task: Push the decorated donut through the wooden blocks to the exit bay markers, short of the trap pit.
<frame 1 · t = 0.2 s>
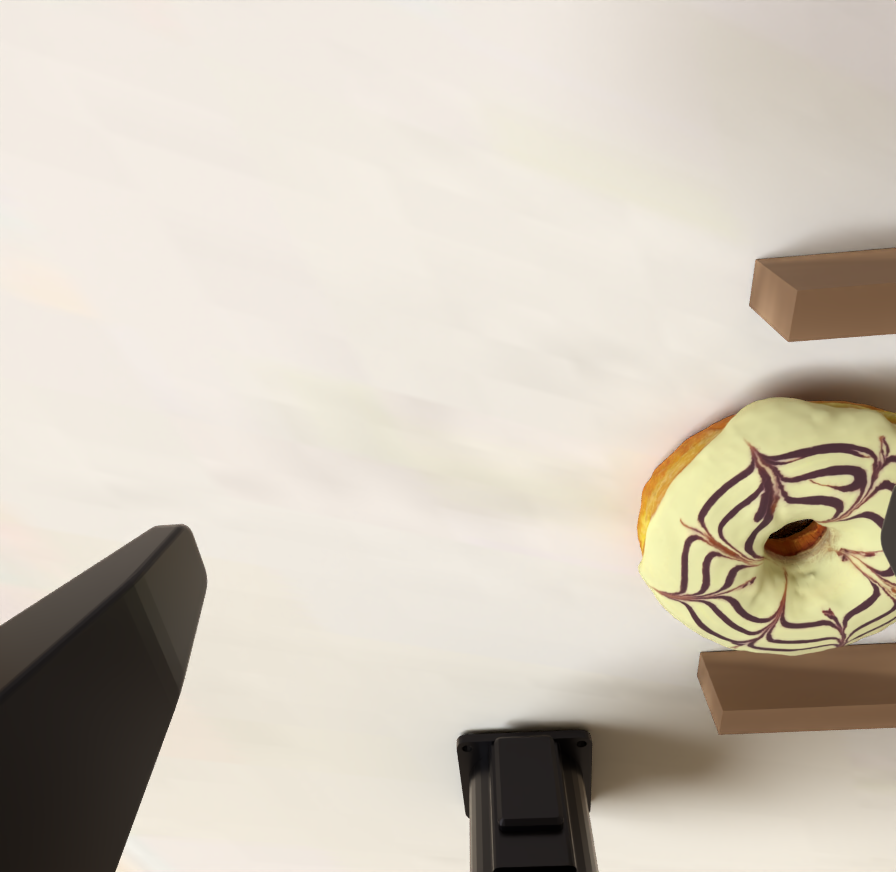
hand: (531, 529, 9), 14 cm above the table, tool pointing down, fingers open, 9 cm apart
decorated donut: (769, 496, 26), on the table
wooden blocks: (884, 496, 25), on the table
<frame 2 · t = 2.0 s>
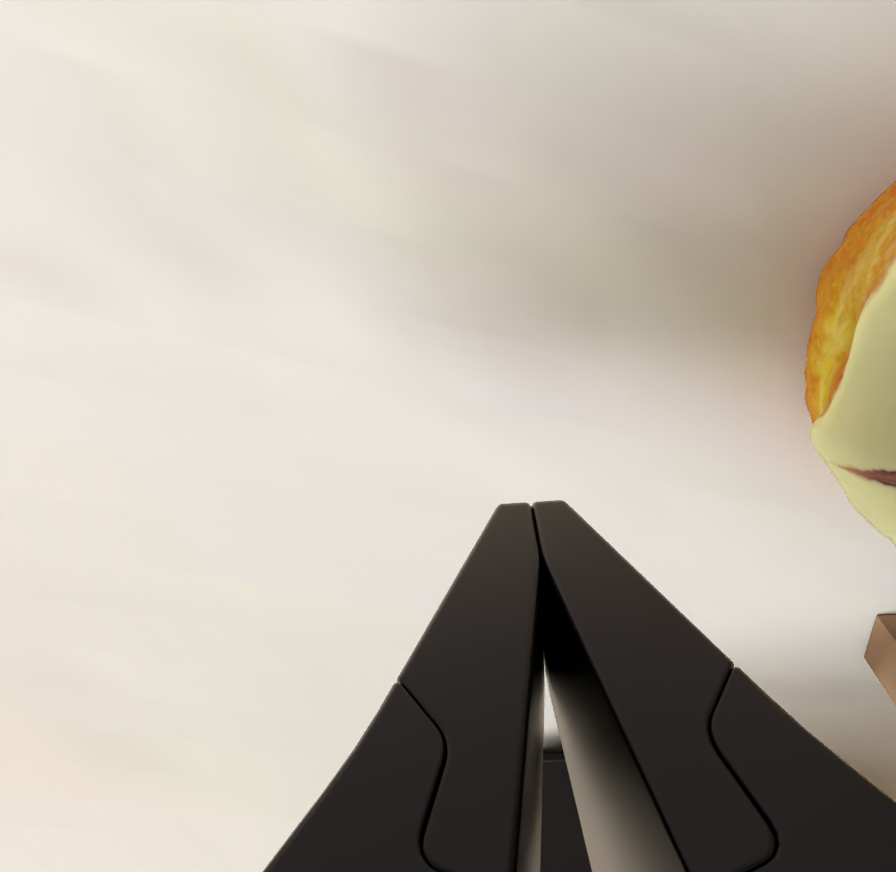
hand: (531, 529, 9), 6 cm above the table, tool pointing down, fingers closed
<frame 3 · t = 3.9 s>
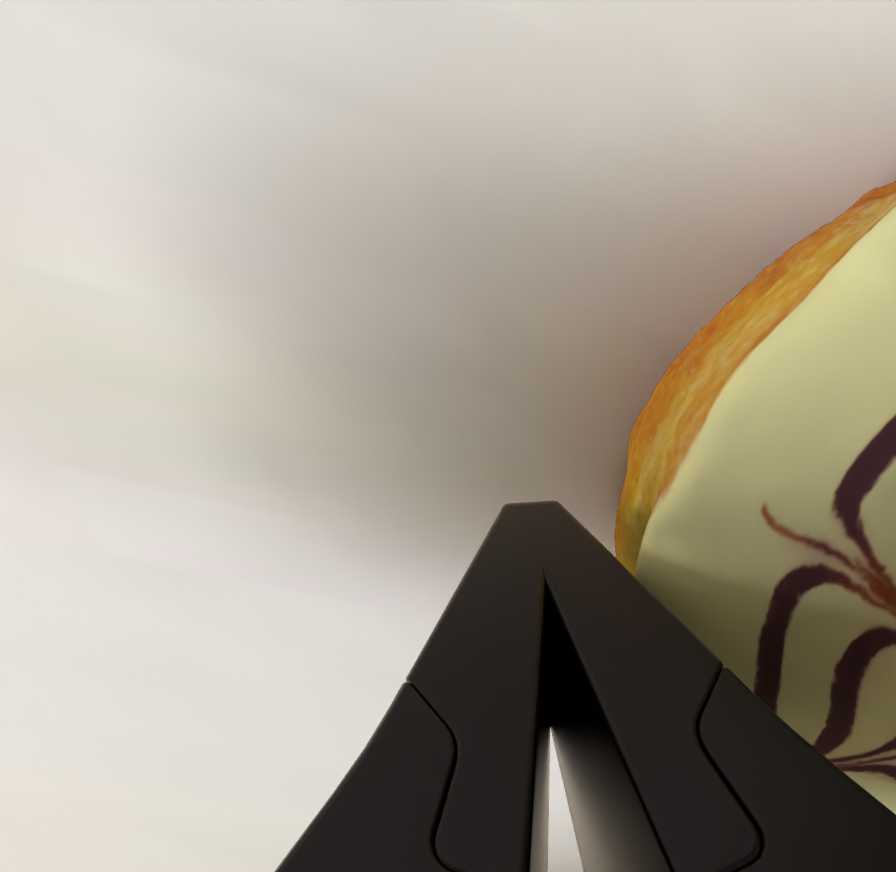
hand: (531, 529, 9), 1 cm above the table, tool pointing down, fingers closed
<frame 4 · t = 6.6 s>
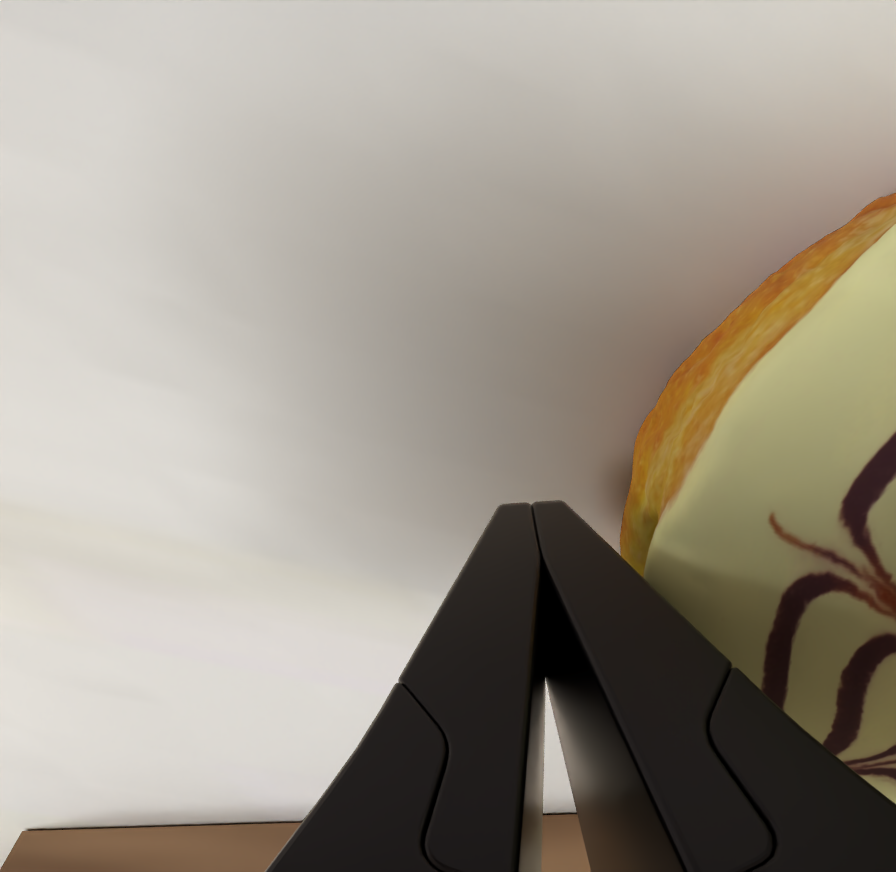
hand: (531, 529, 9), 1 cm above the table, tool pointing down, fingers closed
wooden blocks: (190, 506, 10), on the table
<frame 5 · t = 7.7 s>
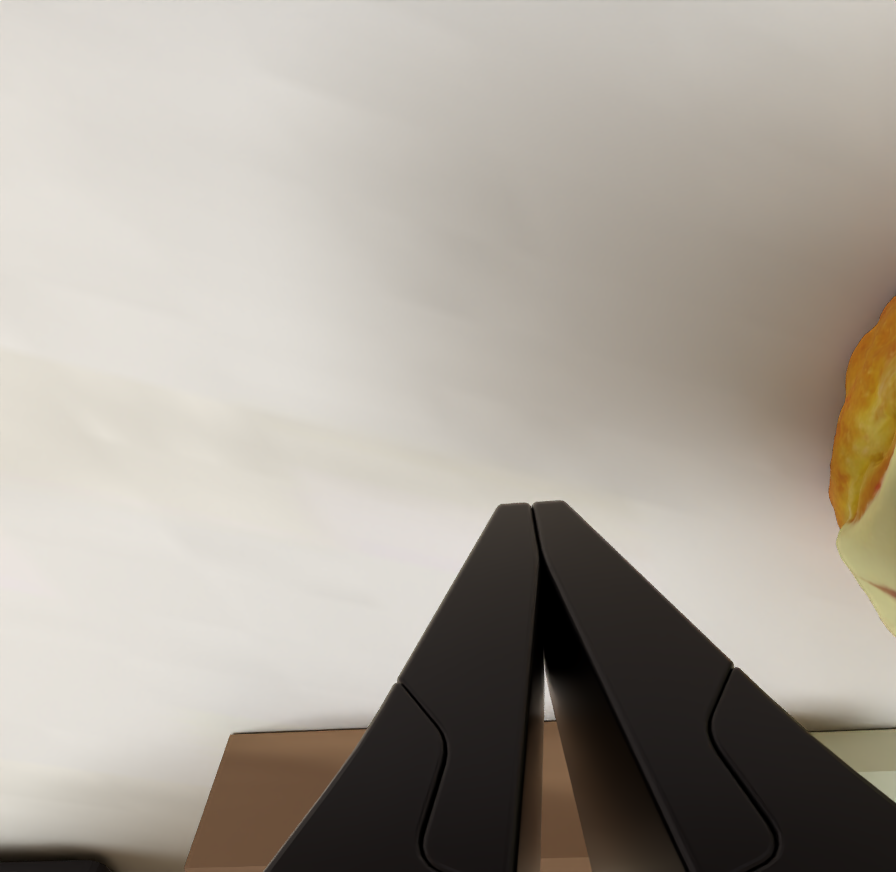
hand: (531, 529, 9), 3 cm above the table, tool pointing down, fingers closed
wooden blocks: (451, 421, 12), on the table
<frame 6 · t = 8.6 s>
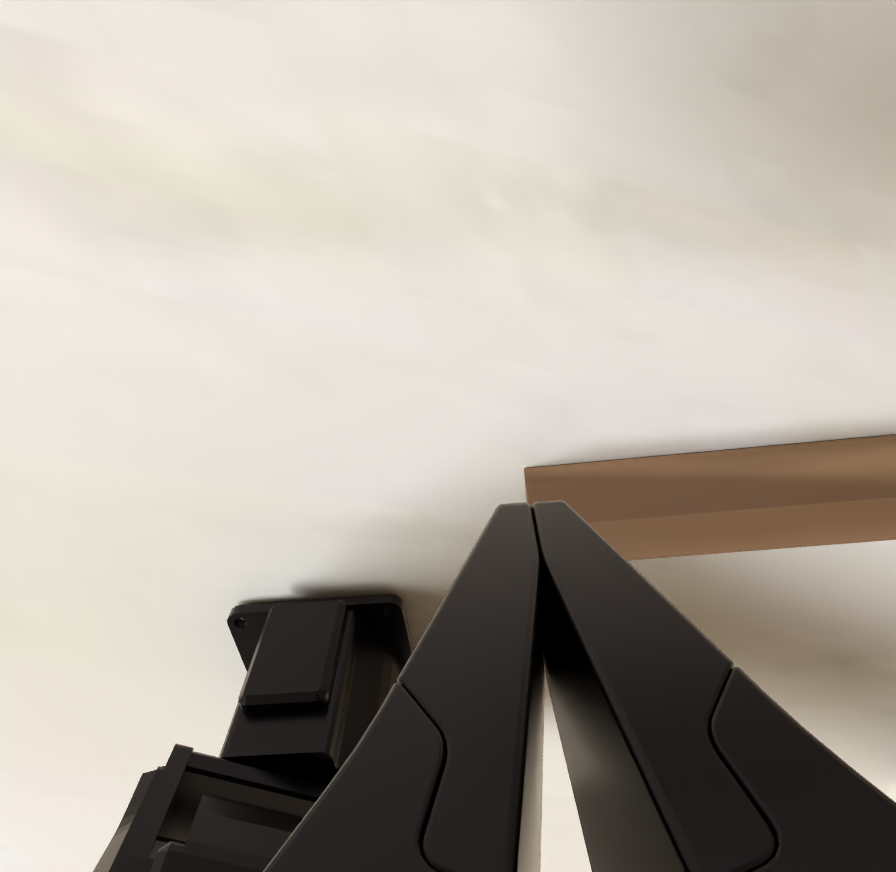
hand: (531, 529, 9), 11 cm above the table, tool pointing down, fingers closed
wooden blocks: (740, 182, 17), on the table
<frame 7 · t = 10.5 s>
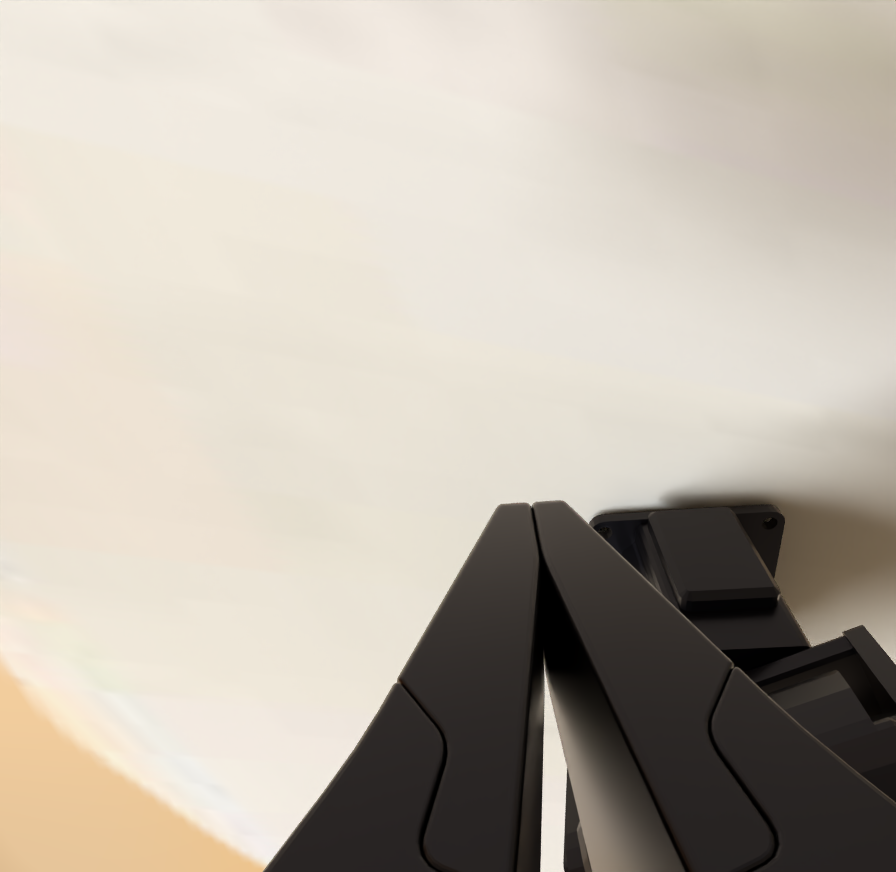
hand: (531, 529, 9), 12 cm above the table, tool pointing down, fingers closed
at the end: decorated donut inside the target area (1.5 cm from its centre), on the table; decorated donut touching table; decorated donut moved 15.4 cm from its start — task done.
